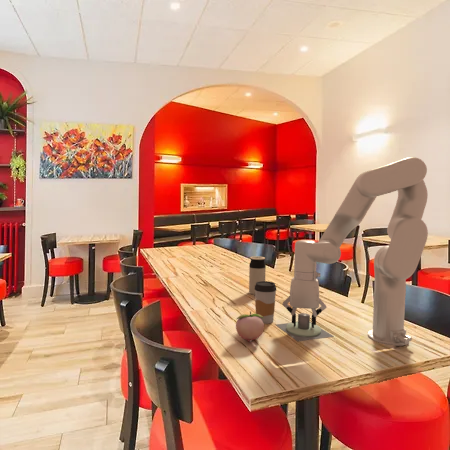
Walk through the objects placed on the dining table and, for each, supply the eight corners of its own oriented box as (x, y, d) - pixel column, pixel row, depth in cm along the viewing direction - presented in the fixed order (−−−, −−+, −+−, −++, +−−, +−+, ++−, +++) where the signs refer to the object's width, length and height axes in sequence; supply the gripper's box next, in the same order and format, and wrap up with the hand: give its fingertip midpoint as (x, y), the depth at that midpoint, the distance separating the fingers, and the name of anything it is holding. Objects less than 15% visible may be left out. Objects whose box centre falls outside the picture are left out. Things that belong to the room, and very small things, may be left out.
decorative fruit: (243, 348, 110) (243, 317, 109) (232, 339, 117) (232, 309, 117) (269, 344, 114) (269, 313, 113) (257, 335, 121) (257, 306, 120)
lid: (328, 334, 121) (328, 318, 120) (297, 338, 117) (297, 322, 116) (308, 322, 132) (309, 308, 132) (280, 326, 128) (280, 311, 128)
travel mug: (257, 296, 170) (258, 259, 168) (245, 292, 176) (246, 257, 174) (268, 293, 175) (269, 257, 174) (256, 290, 181) (257, 255, 180)
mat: (334, 338, 119) (334, 336, 119) (297, 343, 115) (297, 341, 115) (308, 322, 134) (308, 320, 134) (275, 326, 130) (275, 324, 130)
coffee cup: (280, 322, 134) (280, 283, 133) (267, 327, 128) (267, 287, 127) (262, 317, 140) (263, 279, 139) (249, 322, 134) (249, 283, 133)
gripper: (329, 274, 125) (327, 324, 126) (280, 272, 128) (279, 320, 130) (331, 279, 118) (329, 331, 119) (279, 276, 121) (278, 327, 122)
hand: (303, 325), depth 124 cm, fingers open, 5 cm apart
